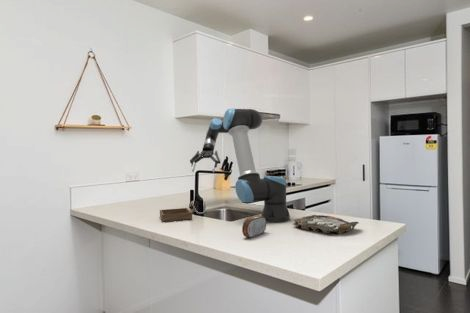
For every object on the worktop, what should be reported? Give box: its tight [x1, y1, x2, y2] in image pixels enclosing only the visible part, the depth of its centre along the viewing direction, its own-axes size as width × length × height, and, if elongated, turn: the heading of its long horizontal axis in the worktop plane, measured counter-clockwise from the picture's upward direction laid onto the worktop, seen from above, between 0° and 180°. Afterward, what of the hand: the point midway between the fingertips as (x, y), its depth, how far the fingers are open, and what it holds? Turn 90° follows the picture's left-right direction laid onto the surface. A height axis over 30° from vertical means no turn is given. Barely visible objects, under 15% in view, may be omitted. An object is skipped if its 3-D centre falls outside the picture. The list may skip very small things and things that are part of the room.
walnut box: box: [159, 207, 193, 223], centre depth 184 cm, size 16×16×4 cm
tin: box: [241, 214, 267, 239], centre depth 145 cm, size 15×3×8 cm, turn 141°
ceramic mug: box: [188, 199, 207, 215], centre depth 199 cm, size 11×8×8 cm
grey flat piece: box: [292, 214, 360, 235], centre depth 156 cm, size 30×22×5 cm
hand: (202, 170), depth 210 cm, fingers open, 13 cm apart
